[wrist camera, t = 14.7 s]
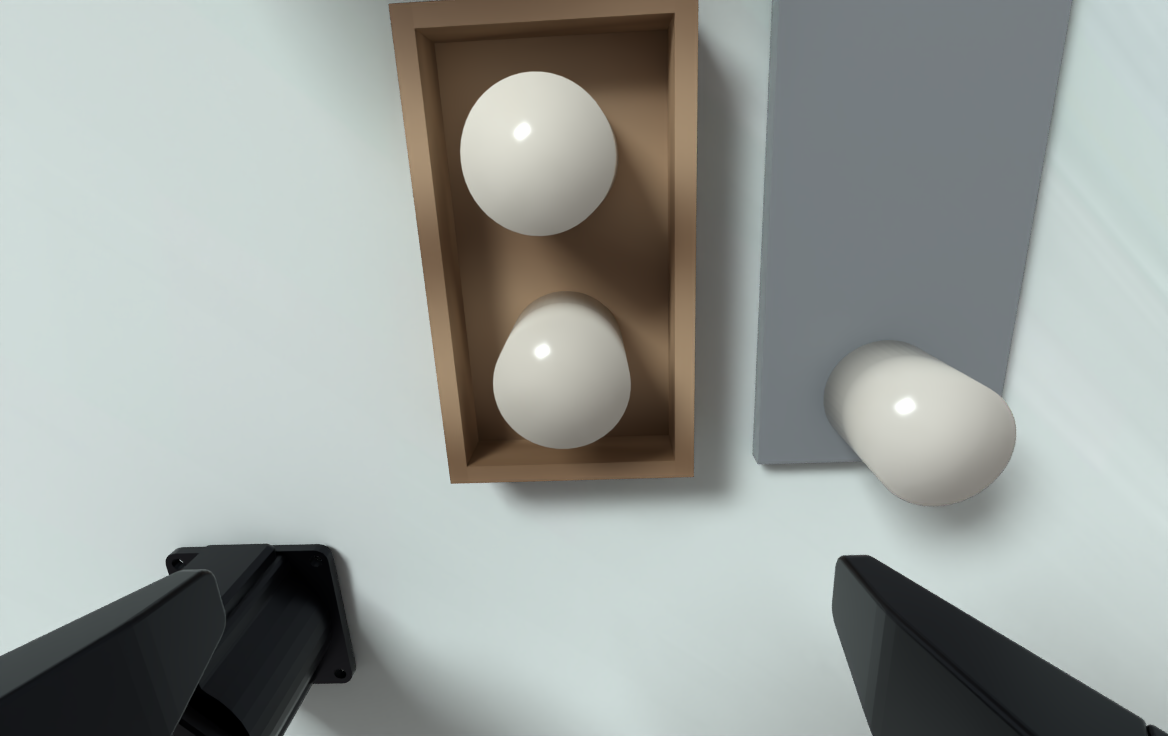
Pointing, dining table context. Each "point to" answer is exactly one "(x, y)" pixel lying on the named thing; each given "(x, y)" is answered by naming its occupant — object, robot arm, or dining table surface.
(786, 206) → the slate board
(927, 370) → the white rounded stone
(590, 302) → the pebble
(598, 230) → the walnut bin
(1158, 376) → the dining table surface
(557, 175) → the pebble
